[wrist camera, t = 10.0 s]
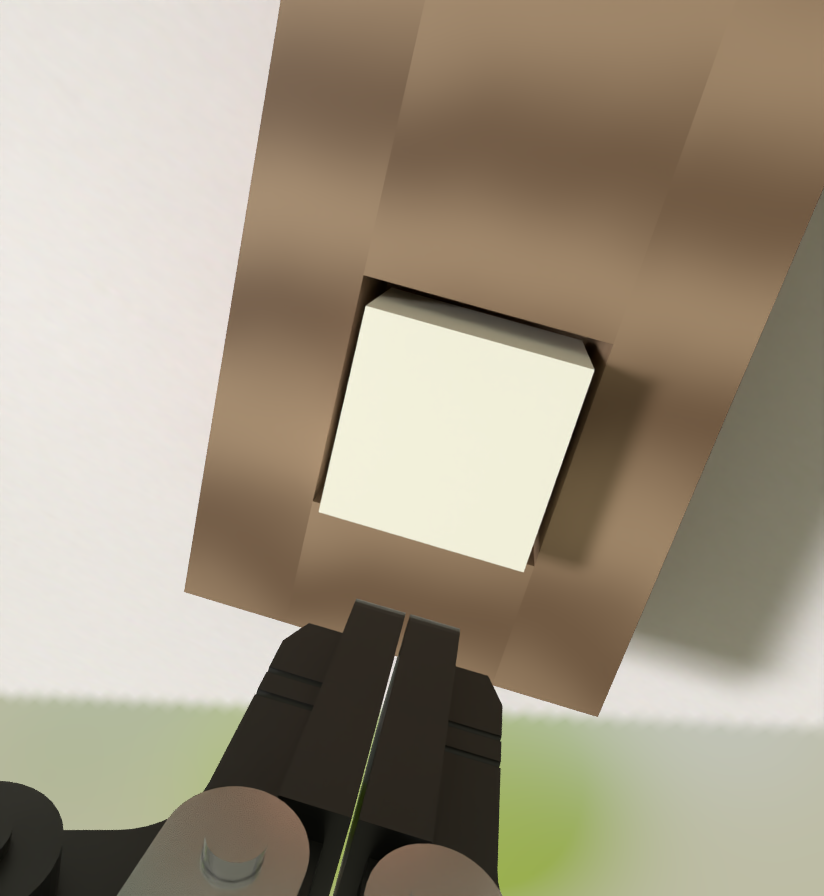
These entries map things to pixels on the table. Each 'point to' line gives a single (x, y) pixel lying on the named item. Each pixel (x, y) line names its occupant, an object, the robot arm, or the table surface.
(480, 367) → the cream key
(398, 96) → the block
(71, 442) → the table surface
